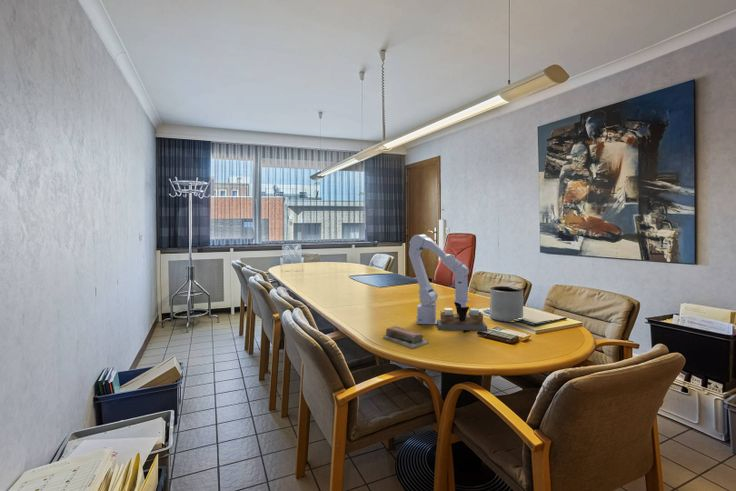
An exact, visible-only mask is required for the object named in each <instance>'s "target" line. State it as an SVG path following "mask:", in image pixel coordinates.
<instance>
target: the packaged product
mask: <svg viewBox="0 0 736 491" xmlns="http://www.w3.org/2000/svg"><path fill="white" fill-rule="evenodd" d="M385 329H386V330H385V331H386V332H385V335H384V334H383V335H382V338H383V339H384V338H385V340H387V341H390V342H392V343H395V344H399V345H400V346H404V347H407V348H410V349H417V348H419V347H421V346H425V345H428V344H429V343H430V341H429V340H425V339H424V334H422V333H420V332H419V333H418V332H416V331H412V330H410V329H407V328H403V327H400V326H396V325H395V326H390V327H388V328H387V327H386V328H385Z"/></svg>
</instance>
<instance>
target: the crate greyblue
mask: <svg viewBox="0 0 736 491" xmlns="http://www.w3.org/2000/svg"><path fill="white" fill-rule="evenodd" d="M479 312H480V311H479V309H478V308H474V307H473V308H472V307H471V308H470V307H469V313H470V314H471V315H479Z"/></svg>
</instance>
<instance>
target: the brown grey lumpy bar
mask: <svg viewBox="0 0 736 491" xmlns="http://www.w3.org/2000/svg"><path fill="white" fill-rule="evenodd" d="M439 314H440V321H441V324H472V325H483V321H484V314H483V313H482V311H479V315H471V314H470V312H468V313H467V314H466V318H465V321H460V319H459V314H457V313H453V315H444V311H442V310H440V313H439Z"/></svg>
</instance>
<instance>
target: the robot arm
mask: <svg viewBox="0 0 736 491" xmlns="http://www.w3.org/2000/svg"><path fill="white" fill-rule="evenodd" d="M424 249H428V250H430V251H432V253H434V254H435V255H436V256H437V257H439V258H440V259H441V262H442V264H443V265H445V267H446V268H448V269H449V270H450V271H451V272H452V273H453V275H454V277H455V281H454V282H455V284H454V301H453V303H454V306H455V310H456V314H459V319H460V321H465V318H466V314H468V311H469V310H470V307H469V306H467V303H469V302H471V300H470V299H469V298H468V294H469V293H468V290H469V289H468V282H469V281H468V275H469V273H470V269H469V267H468V266H467V265H466V264H463V262H462V261H459V260H458V259H457V258H456V256H455V254H451V253H446V252H445V250H443V249H442V248H441V247H440V246H439V245H438V244H437V243H436V242H435V241H434V240H433V239H432V238H431V237H429V236H428V235H427V234H425V233H422V234H415V235H413V236H411V239H410V240H409V248H408V257H409V260H410V261H411V262H410V263H411V265H412V269H413V271H414V274H415V277H416V280H417V284H418V287H419V290H418V294H419V297H418V298H419V302H420V304H417V306H416V309H417V310H416V311H417V312H416V313H417V314H416V320H417V321H416V323H417V324H418V325H437V315H436V314H437V303H436V301H437V300H438V293H437V291H435V290H434V287H433V285H431V284H430V280H429V278H428V274H427V272H426V268H425V265H424V262H423V259H422V257H421V253H422V252H423V250H424Z"/></svg>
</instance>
